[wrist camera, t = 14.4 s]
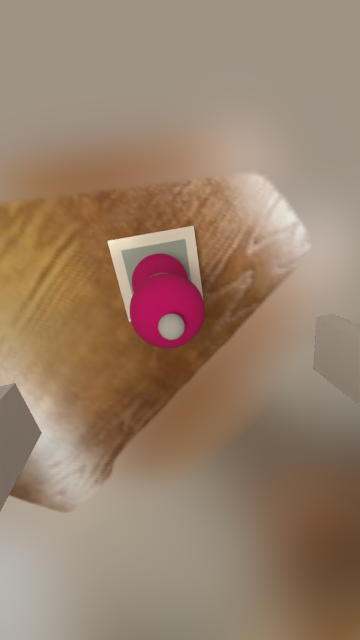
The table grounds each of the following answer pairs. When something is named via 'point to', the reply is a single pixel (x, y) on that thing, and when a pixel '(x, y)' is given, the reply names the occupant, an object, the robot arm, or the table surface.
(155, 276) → the pepper mill
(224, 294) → the table surface
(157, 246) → the base
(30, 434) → the robot arm
